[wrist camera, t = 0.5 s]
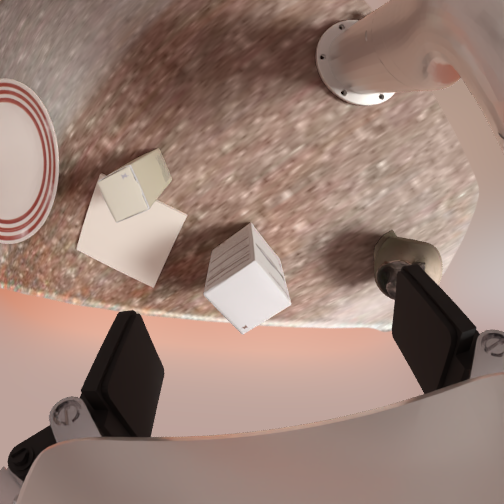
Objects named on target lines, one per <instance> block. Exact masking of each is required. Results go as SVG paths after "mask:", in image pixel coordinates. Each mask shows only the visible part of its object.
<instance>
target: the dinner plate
mask: <svg viewBox="0 0 504 504" xmlns="http://www.w3.org/2000/svg"><path fill="white" fill-rule="evenodd" d="M58 177H59V153H58V144H57V138H56V133H55V129H54V126H53V123H52V120H51V118H50V115H49V113H48V111H47V109H46V107H45V105H44V104H43V102H42V101H41V99H40V98H39V97H38V96H37V94H36V93H35V92H34V91H33V90H32V89H30V88H29V87H28V86H26V85H25V84H23V83H21V82H19V81H17V80H13V79H6V78H2V79H0V243H4V244H14V243H19V242H22V241H24V240H26V239H28V238H30V237H31V236H32V235H34V234H35V233H36V232H37V231H38V230H39V229H40V228H41V226H42V225H43V224H44V222H45V220H46V219H47V217H48V215H49V213H50V211H51V208H52V205H53V203H54V199H55V195H56V191H57V185H58Z"/></svg>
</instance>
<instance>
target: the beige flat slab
mask: <svg viewBox="0 0 504 504" xmlns="http://www.w3.org/2000/svg"><path fill="white" fill-rule="evenodd" d="M105 176H107V175H105V174H103V173H101V174H100V176H99V179H98V181H99V180H101V179H102V178H104V177H105ZM186 217H187V214H185V213H183V212H181V211H179V210H177V209H175V208H173V207H171V206H169V205H167V204H165V203H163V202H161V201H159V200H156V201H155V202H154V204H153V205H152V206H151V208H150V209H149V210H147V211H145V212H143V213H141V214H138V215H136V216H133V217H131V218H129V219H126V220H123V221H121V222H118V223H116V222H115V220H114V218H113V216H112V214H111V212H110V210H109V208H108V206H107V204H106V202H105V200H104V198H103V196H102V193H101V191H100V189H99V186H98V184H96V187H95V190H94V193H93V196H92V199H91V202H90V205H89V208H88V211H87V214H86V218H85V221H84V224H83V228H82V231H81V235H80V238H79V242H78V245H77V250H78V251H80V252H82V253H84V254H86V255H88V256H90V257H92V258H94V259H96V260H98V261H100V262H102V263H104V264H106V265H108V266H110V267H112V268H114V269H116V270H118V271H120V272H122V273H124V274H126V275H128V276H130V277H132V278H134V279H136V280H138V281H140V282H142V283H144V284H147V285H149V286H151V287H153V288H154V286H155V284H156V282H157V279H158V277H159V275H160V273H161V270H162V268H163V266H164V264H165V262H166V259H167V257H168V255H169V253H170V251H171V249H172V246H173V244H174V242H175V240H176V238H177V236H178V234H179V232H180V229H181V227H182V225H183V223H184V221H185V219H186Z"/></svg>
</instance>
